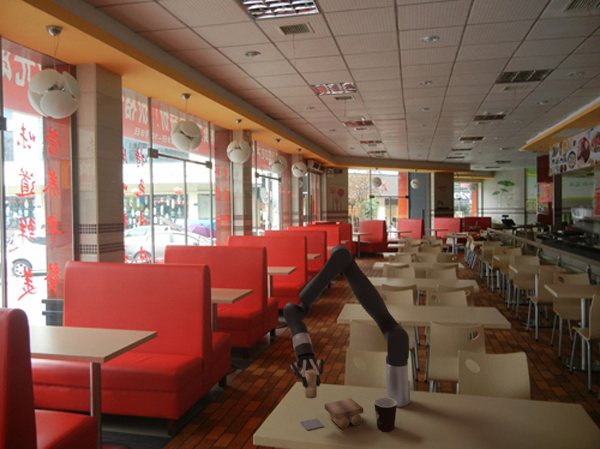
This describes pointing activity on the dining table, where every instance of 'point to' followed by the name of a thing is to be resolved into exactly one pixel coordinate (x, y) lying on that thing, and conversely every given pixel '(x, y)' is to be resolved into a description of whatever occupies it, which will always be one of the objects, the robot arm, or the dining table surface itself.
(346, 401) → the slab
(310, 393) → the roller
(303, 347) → the robot arm
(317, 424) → the mat
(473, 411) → the dining table surface
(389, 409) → the coffee mug
